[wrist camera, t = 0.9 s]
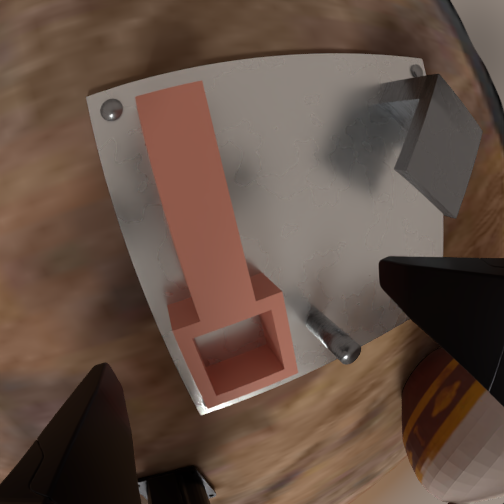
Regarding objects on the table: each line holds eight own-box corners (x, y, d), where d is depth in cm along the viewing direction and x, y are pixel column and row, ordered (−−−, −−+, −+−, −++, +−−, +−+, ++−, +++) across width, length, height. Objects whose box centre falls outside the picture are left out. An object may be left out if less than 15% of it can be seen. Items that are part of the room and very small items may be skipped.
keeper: (402, 204, 22) (455, 218, 17) (348, 164, 19) (406, 170, 15) (430, 129, 21) (482, 131, 16) (383, 83, 19) (438, 73, 14)
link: (279, 348, 21) (298, 372, 19) (198, 379, 20) (207, 408, 17) (218, 88, 15) (234, 74, 13) (109, 116, 14) (101, 107, 11)
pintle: (325, 325, 22) (361, 357, 18) (307, 333, 22) (341, 368, 18) (323, 308, 22) (360, 339, 18) (304, 316, 21) (340, 350, 17)
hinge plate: (438, 298, 27) (441, 300, 26) (199, 412, 21) (201, 417, 21) (419, 59, 19) (423, 58, 19) (86, 98, 13) (85, 96, 13)
